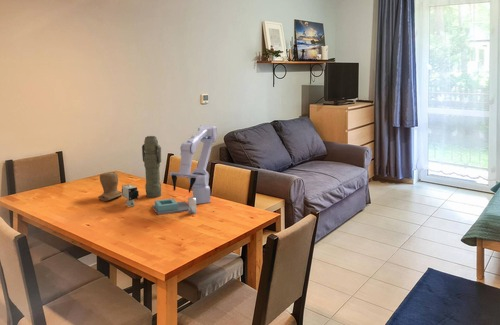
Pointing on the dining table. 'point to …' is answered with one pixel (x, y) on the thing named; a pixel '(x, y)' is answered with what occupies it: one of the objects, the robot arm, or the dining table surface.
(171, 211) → the block
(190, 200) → the pin
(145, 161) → the stone statue
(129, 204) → the pneumatic valve
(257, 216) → the dining table surface
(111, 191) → the brown upright piece
